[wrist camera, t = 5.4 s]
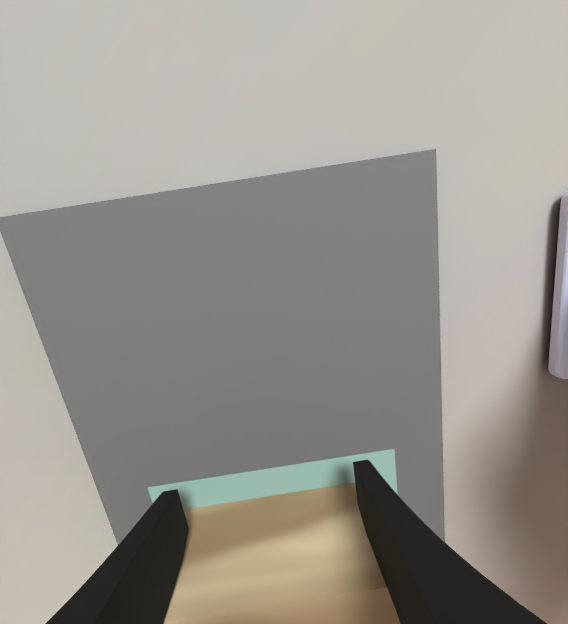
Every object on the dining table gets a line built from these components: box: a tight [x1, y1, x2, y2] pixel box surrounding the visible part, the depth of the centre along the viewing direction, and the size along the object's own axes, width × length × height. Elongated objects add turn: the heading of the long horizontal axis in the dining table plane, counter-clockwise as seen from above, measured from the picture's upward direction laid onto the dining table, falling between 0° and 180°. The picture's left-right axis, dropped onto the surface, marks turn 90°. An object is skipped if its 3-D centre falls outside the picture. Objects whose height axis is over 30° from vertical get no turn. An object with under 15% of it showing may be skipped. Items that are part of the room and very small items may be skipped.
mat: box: [0, 149, 445, 545], centre depth 12 cm, size 16×24×1 cm, turn 9°
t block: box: [163, 483, 400, 624], centre depth 12 cm, size 9×10×4 cm
